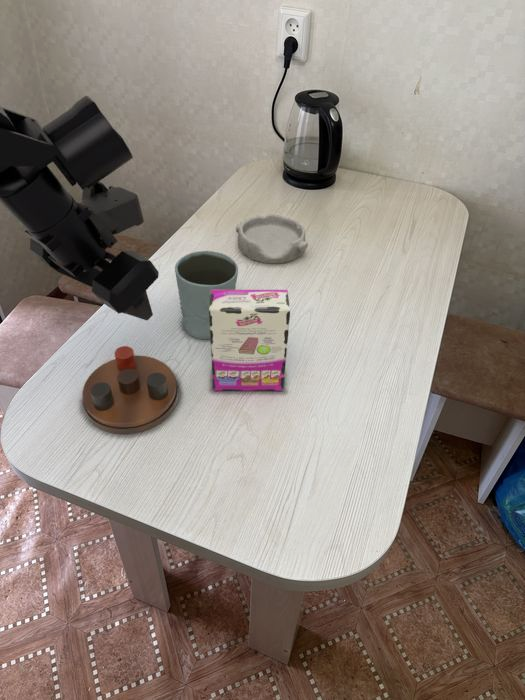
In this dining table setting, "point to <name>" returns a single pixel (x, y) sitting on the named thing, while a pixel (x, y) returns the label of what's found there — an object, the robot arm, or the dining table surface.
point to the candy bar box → (248, 339)
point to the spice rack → (129, 390)
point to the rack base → (137, 428)
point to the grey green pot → (202, 287)
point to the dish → (271, 238)
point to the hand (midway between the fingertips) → (128, 303)
